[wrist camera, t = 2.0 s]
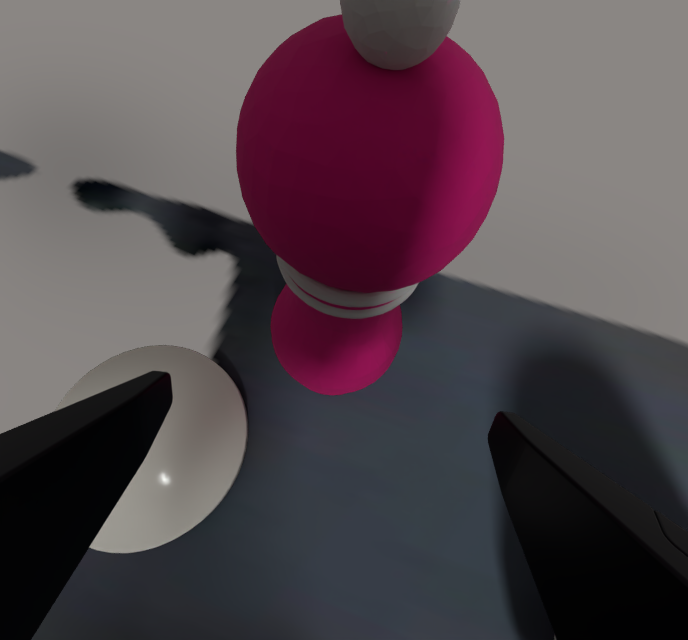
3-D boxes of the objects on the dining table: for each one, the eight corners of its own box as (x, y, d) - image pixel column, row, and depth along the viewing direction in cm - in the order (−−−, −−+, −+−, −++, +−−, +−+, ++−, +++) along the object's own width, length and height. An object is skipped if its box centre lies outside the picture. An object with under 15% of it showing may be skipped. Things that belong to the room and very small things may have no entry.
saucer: (209, 569, 18) (203, 576, 17) (9, 520, 18) (-7, 524, 17) (271, 372, 22) (269, 368, 21) (109, 332, 22) (99, 327, 21)
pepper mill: (307, 285, 24) (288, -246, 6) (399, 325, 24) (709, -114, 5) (259, 374, 22) (-73, -62, 3) (360, 422, 21) (702, 240, 3)
